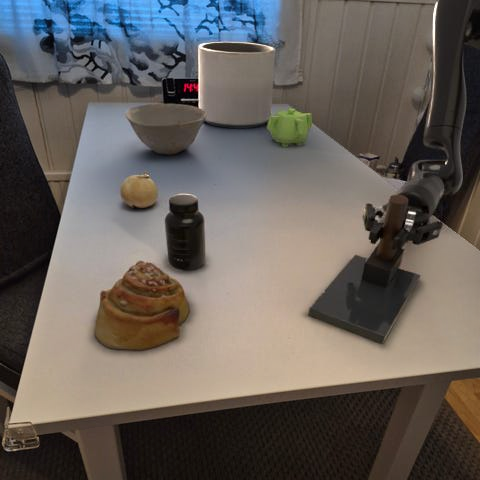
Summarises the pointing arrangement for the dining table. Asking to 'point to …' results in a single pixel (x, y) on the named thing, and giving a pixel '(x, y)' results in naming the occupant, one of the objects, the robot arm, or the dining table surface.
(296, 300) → the dining table surface
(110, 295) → the pastry
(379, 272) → the wooden mallet
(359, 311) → the slate board
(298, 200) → the dining table surface
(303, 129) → the teapot
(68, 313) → the dining table surface
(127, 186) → the onion
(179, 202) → the supplement bottle
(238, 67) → the planter
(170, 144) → the ceramic bowl
